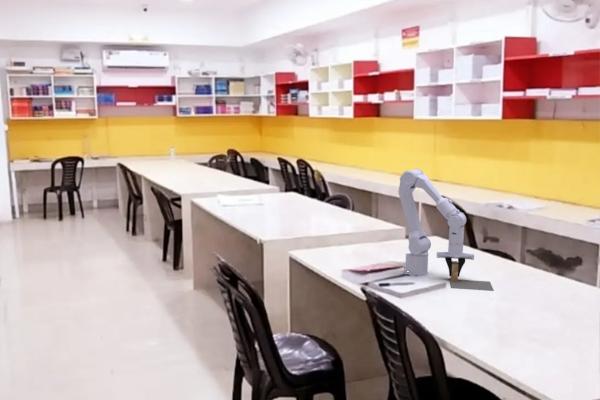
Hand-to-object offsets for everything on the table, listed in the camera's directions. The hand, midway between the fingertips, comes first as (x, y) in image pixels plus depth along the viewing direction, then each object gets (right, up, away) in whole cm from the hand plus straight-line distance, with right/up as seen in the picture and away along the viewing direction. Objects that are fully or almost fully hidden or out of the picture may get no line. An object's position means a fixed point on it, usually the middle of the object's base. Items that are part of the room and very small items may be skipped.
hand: (454, 276), depth 245 cm
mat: (+5, -3, -7) cm, 9 cm away
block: (0, -2, 0) cm, 2 cm away
